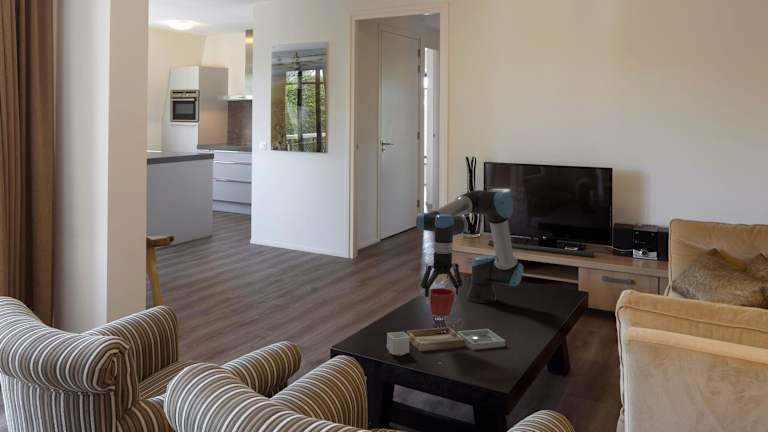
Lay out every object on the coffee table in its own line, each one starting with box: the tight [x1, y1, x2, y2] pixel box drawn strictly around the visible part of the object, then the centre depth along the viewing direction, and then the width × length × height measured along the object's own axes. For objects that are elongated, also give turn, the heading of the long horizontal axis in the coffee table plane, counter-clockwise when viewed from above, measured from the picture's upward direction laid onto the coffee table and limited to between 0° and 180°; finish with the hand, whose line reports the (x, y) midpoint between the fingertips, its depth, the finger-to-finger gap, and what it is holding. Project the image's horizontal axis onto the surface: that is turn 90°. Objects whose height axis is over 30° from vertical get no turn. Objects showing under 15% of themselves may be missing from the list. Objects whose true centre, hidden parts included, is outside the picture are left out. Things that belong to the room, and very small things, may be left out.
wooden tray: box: [405, 326, 466, 352], centre depth 249 cm, size 16×20×3 cm
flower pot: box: [429, 287, 455, 317], centre depth 247 cm, size 11×11×10 cm
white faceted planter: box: [386, 331, 410, 356], centre depth 237 cm, size 7×7×7 cm
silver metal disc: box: [470, 333, 491, 342], centre depth 251 cm, size 9×9×1 cm
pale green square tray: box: [456, 328, 506, 351], centre depth 251 cm, size 15×15×2 cm
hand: (440, 303), depth 247 cm, fingers closed on flower pot, 11 cm apart
